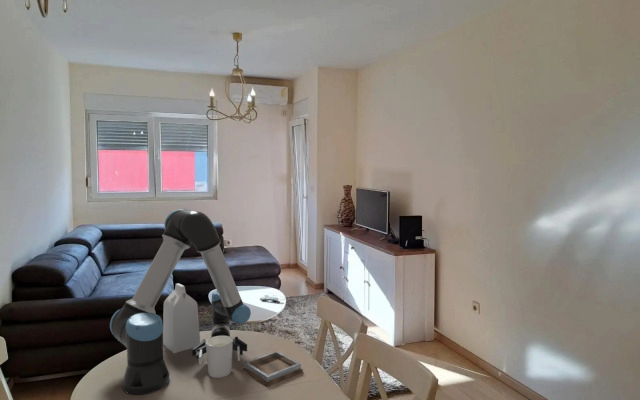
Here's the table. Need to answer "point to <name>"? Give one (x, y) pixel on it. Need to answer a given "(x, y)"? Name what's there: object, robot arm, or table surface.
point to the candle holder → (219, 356)
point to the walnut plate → (272, 370)
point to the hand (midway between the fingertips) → (219, 359)
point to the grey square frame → (294, 367)
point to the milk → (180, 321)
